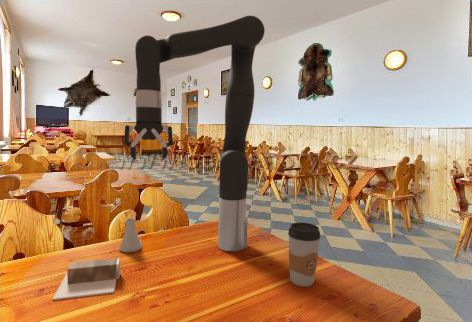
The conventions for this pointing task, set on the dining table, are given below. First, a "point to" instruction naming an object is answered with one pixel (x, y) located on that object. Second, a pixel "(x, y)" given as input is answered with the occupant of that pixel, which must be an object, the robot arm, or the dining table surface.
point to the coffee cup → (303, 253)
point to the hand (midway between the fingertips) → (149, 159)
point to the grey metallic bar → (93, 270)
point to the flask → (130, 237)
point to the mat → (84, 289)
